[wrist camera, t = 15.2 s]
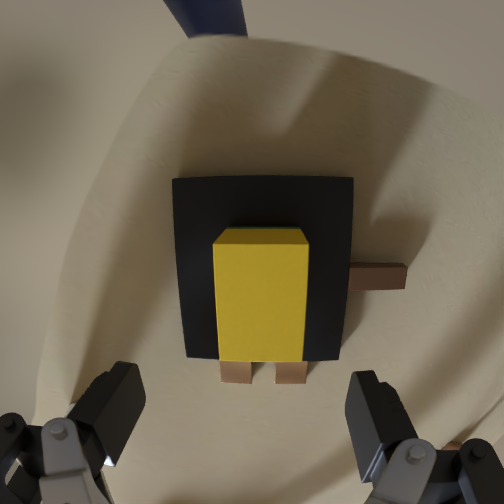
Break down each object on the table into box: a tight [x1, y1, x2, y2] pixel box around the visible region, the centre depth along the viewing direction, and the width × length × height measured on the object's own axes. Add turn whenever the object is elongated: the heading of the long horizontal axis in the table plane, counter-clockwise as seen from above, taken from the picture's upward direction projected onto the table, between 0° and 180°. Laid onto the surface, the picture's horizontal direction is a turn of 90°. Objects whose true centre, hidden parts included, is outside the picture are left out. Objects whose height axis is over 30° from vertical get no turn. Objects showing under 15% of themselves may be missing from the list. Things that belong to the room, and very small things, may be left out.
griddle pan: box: [172, 175, 408, 361], centre depth 24 cm, size 16×19×2 cm
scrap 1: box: [219, 360, 252, 384], centre depth 27 cm, size 3×3×1 cm
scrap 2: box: [275, 361, 308, 384], centre depth 27 cm, size 3×3×1 cm
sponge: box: [213, 227, 309, 362], centre depth 21 cm, size 8×6×6 cm
